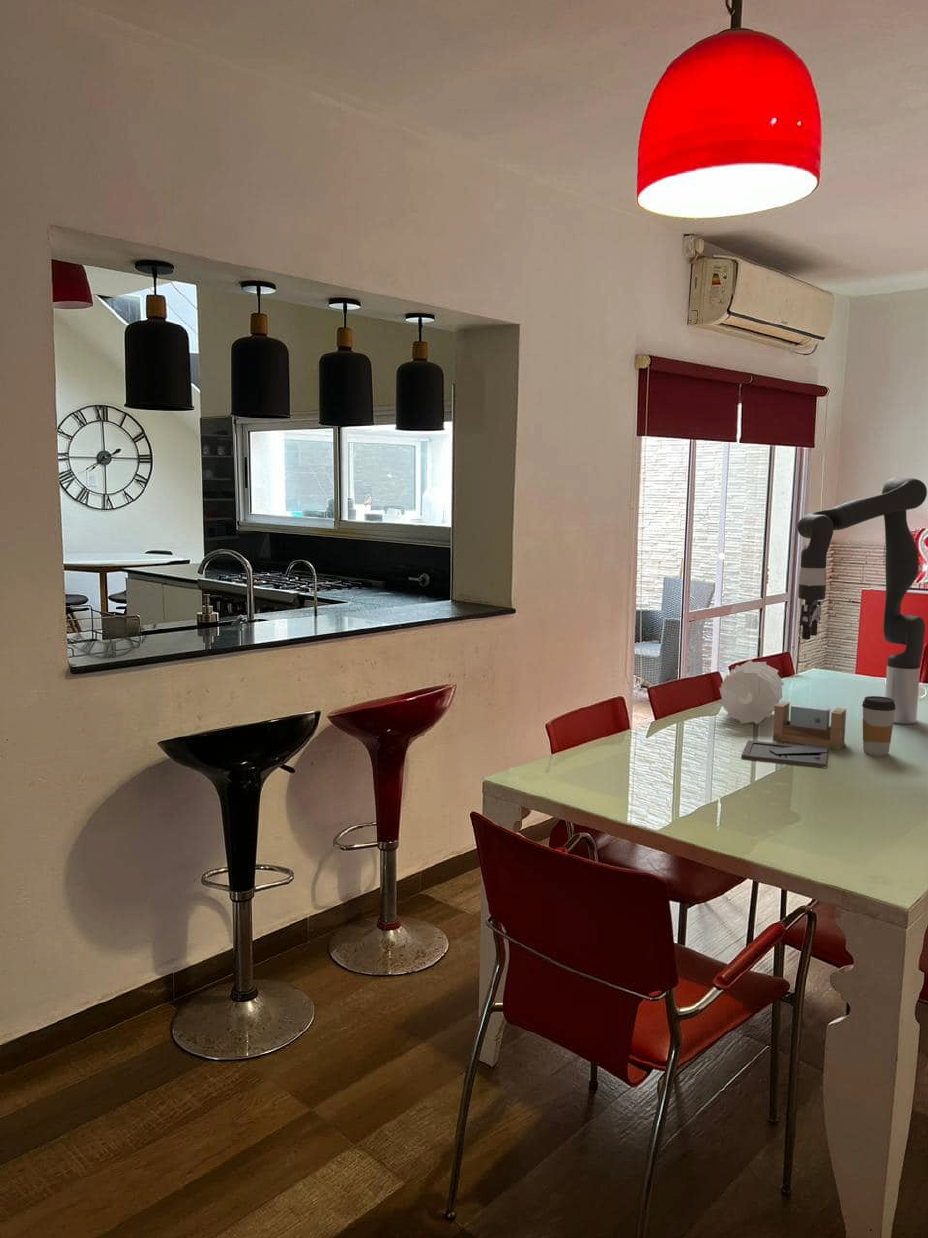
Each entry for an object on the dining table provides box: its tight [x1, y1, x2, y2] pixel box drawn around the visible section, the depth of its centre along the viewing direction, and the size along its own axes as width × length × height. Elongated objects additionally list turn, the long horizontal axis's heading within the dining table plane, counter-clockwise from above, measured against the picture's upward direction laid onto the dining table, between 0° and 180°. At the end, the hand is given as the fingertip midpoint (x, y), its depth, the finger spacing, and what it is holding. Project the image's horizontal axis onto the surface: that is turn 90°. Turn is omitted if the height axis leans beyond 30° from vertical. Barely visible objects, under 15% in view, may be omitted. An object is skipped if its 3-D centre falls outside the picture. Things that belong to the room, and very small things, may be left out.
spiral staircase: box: [719, 659, 785, 725], centre depth 285 cm, size 18×18×25 cm
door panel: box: [789, 704, 831, 731], centre depth 258 cm, size 4×10×8 cm, turn 56°
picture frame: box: [740, 739, 829, 768], centre depth 245 cm, size 16×2×21 cm
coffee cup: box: [861, 695, 896, 757], centre depth 246 cm, size 8×8×15 cm
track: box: [772, 700, 847, 750], centre depth 258 cm, size 7×18×10 cm, turn 56°
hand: (809, 637), depth 268 cm, fingers open, 8 cm apart
